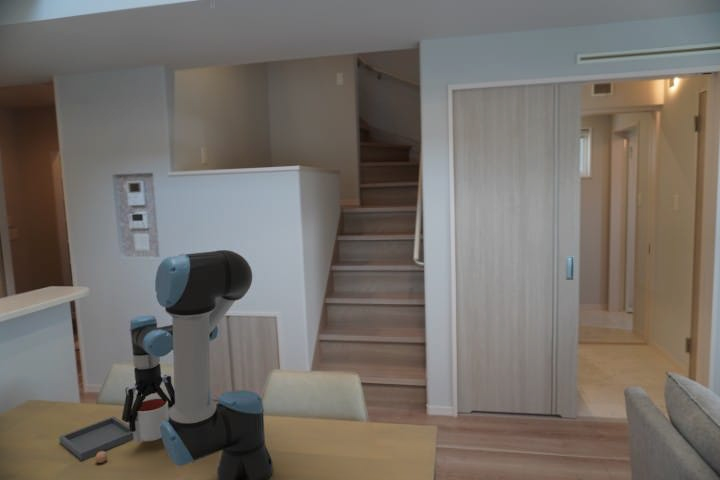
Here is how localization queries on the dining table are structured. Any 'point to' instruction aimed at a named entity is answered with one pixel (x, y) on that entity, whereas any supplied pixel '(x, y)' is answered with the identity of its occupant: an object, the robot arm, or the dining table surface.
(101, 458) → the ball
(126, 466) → the dining table surface
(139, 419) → the cup
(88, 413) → the dining table surface
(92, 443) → the tray
